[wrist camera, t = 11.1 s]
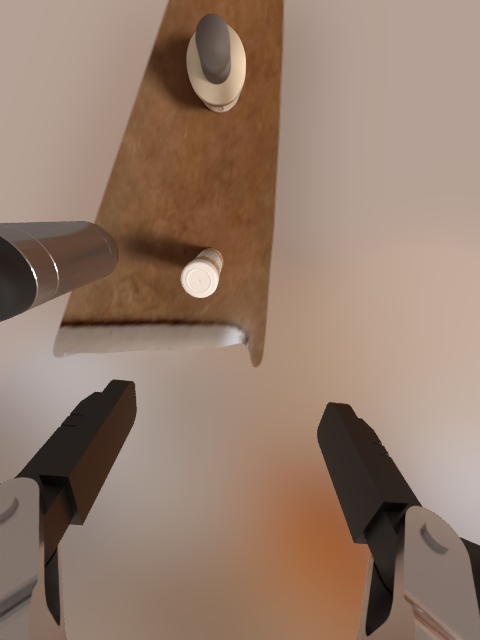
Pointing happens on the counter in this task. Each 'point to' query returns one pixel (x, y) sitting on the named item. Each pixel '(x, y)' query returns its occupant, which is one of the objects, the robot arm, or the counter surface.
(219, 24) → the lid
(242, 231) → the counter surface
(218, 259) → the sprinkles bottle
